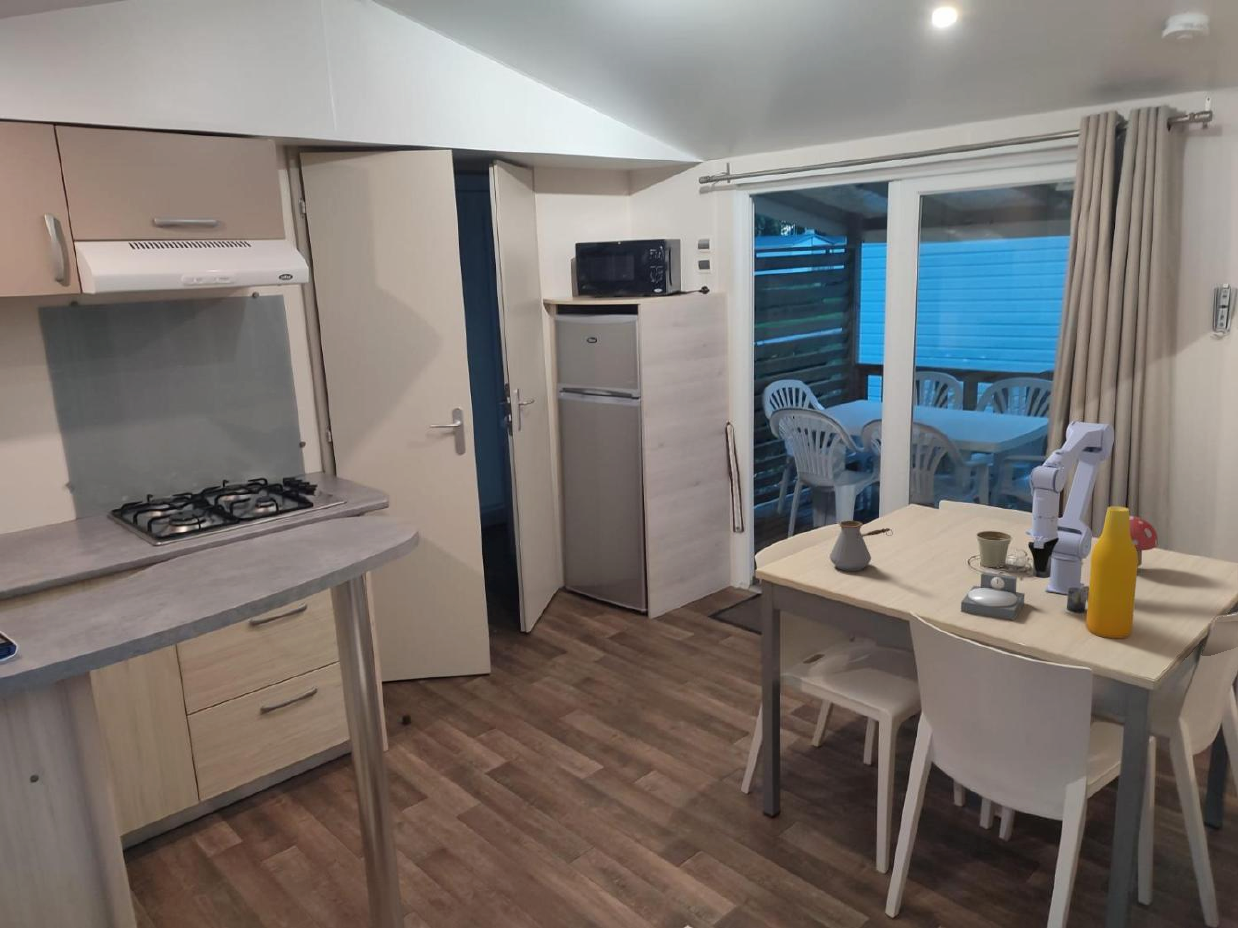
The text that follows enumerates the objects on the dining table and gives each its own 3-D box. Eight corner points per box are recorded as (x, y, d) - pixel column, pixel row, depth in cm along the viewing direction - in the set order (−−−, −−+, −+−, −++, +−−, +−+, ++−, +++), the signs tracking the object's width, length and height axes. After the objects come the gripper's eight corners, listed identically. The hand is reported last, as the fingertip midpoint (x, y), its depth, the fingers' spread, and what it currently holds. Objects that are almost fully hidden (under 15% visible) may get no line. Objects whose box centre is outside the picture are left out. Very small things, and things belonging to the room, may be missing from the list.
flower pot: (1001, 572, 241) (1002, 542, 239) (968, 565, 248) (969, 536, 246) (1016, 564, 247) (1018, 535, 245) (984, 557, 254) (985, 528, 252)
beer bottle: (1119, 642, 194) (1130, 516, 188) (1077, 630, 201) (1086, 508, 195) (1139, 631, 199) (1150, 508, 193) (1097, 620, 206) (1107, 501, 200)
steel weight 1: (1034, 571, 218) (1035, 552, 217) (1051, 574, 216) (1052, 554, 215) (1031, 576, 215) (1032, 556, 214) (1048, 578, 213) (1050, 559, 212)
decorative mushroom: (1096, 560, 247) (1100, 508, 244) (1151, 564, 242) (1155, 512, 239) (1101, 575, 235) (1105, 521, 232) (1159, 579, 230) (1164, 525, 227)
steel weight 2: (1068, 605, 216) (1069, 586, 215) (1086, 608, 213) (1087, 589, 212) (1065, 611, 212) (1066, 591, 211) (1084, 613, 210) (1085, 594, 209)
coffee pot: (821, 564, 253) (821, 514, 250) (852, 557, 258) (852, 508, 255) (872, 586, 234) (874, 532, 231) (905, 578, 239) (906, 525, 236)
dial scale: (973, 594, 225) (974, 570, 224) (1024, 602, 219) (1025, 578, 217) (960, 611, 215) (962, 586, 214) (1013, 620, 208) (1014, 594, 207)
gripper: (1032, 506, 220) (1029, 557, 223) (1021, 520, 209) (1018, 574, 211) (1063, 509, 216) (1060, 561, 219) (1054, 524, 205) (1050, 579, 208)
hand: (1041, 568), depth 215 cm, fingers closed on steel weight 1, 4 cm apart
